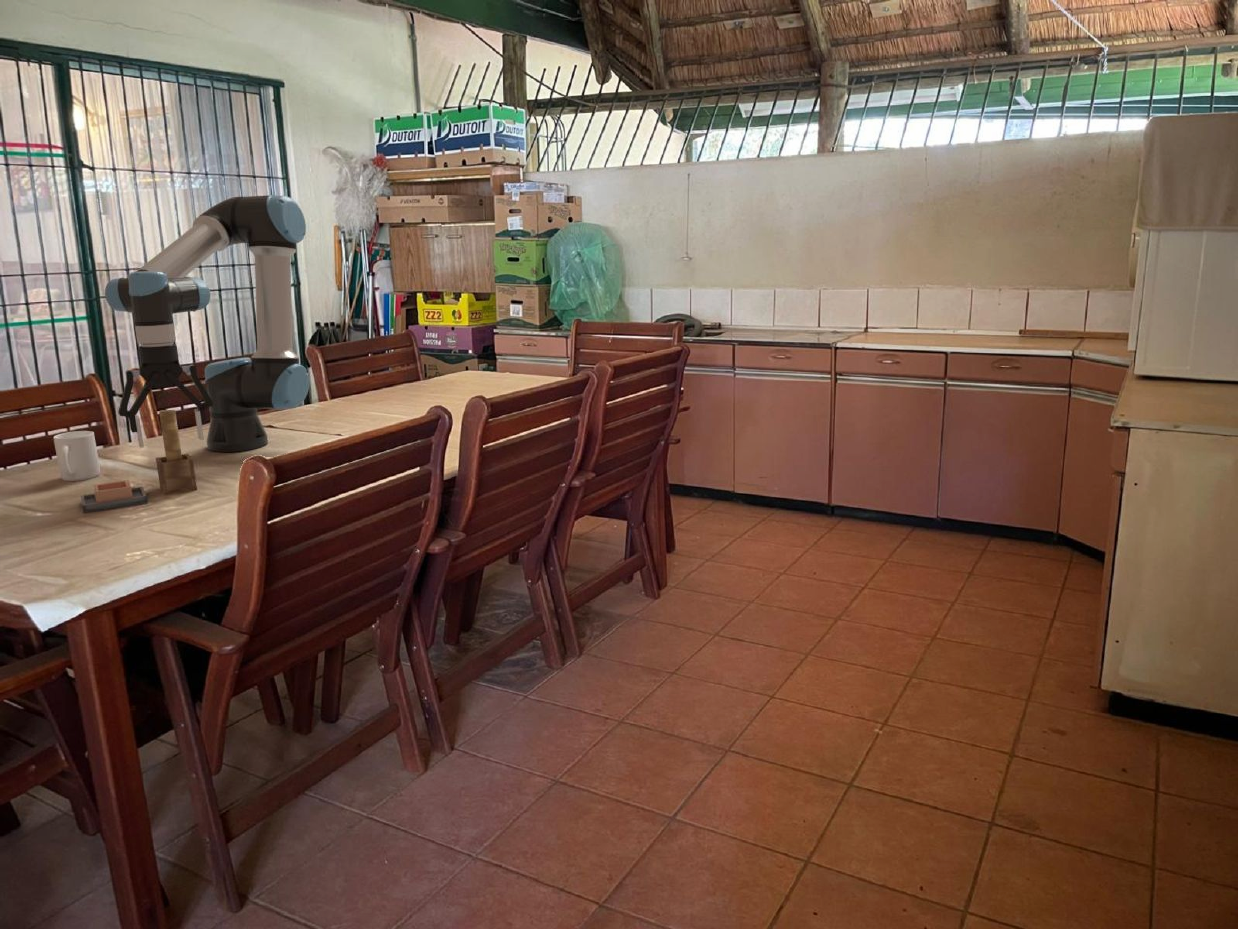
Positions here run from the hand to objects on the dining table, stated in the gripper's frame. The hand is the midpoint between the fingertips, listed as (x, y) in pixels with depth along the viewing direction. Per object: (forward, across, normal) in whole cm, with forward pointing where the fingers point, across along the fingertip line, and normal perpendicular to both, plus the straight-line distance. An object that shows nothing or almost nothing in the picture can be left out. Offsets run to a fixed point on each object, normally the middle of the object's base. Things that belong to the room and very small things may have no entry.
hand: (171, 442), depth 205 cm
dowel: (+10, 0, 0) cm, 10 cm away
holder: (+10, +13, +4) cm, 17 cm away
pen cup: (+11, 0, 0) cm, 11 cm away
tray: (+11, +13, +4) cm, 17 cm away
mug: (+11, +19, -24) cm, 33 cm away
